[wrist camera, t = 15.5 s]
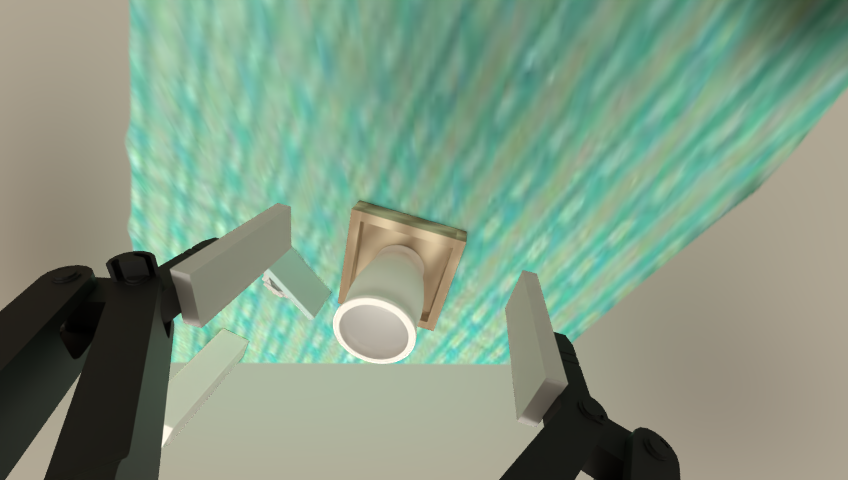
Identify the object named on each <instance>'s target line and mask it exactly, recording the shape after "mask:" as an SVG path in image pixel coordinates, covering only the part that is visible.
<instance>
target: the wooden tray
mask: <svg viewBox="0 0 848 480" xmlns="http://www.w3.org/2000/svg"><path fill="white" fill-rule="evenodd" d="M466 235H467V232H465V231H462V230H458V229H455V228H452V227H448V226H445V225H441V224H438V223H435V222H431V221H428V220H424V219H421V218H417V217H414V216H411V215H407V214H404V213H400V212H397V211H394V210H390V209H387V208H383V207H380V206H376V205H373V204H370V203H366V202H363V201H359V202H358V203H357V204H356V205H355V206H354V207H353V208H352V211H351V217H350V224H349V231H348V238H347V245H346V251H345V258H344V265H343V272H342V279H341V285H340V292H339V299H338V303H339V304H342V303H343V302H344V301H345V299H346V296H347V293H348V291H349V289H350V287H351V285H352V283H353V282H354V280H355V279H356V277H357V276H358V275H359V274H360V272H361V271H362V270H363V269H365V268H366V266H367V265H368V264H369V263H370V262H371V261H372V260H374V259H375V257H376V255H377V254H378V253H379V251H380V250H382V249H383V248H385V247H387V246H390V245H402V246H406V247H408V248H410V249H412V250H414V251H415V252H416V253H417V254H418V255H419V256H420V258H421V259H422V262H423V264H424V275H423V282H424V304H423V310H422V315H421V318H420V321H419V323H418V327H421V328H425V329H428V330H431V331H434V328H435V325H436V323H437V320H438V317H439V315H440V312H441V309H442V306H443V304H444V301H445V298H446V296H447V293H448V290H449V288H450V285H451V282H452V280H453V277H454V274H455V272H456V269H457V266H458V263H459V261H460V258H461V255H462V253H463V250H464V247H465V245H466Z"/></svg>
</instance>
